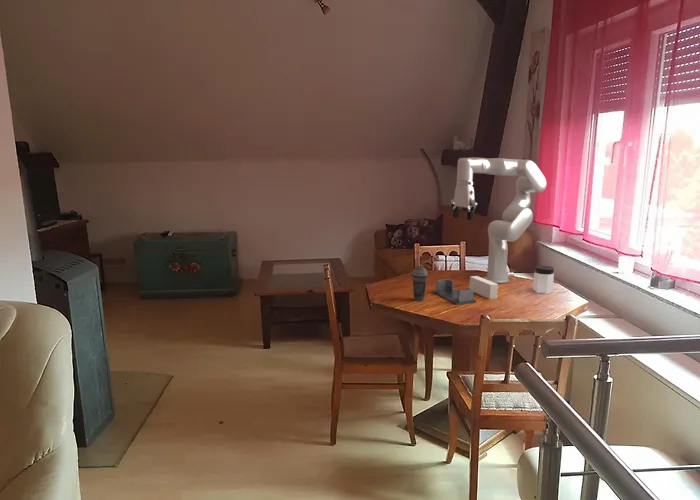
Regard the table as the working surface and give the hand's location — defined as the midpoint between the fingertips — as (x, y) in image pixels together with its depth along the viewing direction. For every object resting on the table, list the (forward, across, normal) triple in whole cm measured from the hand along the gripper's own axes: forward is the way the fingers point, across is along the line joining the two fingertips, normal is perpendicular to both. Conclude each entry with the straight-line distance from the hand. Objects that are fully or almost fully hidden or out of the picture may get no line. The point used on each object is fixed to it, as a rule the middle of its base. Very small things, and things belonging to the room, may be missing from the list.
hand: (462, 218), depth 259 cm
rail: (+34, -17, +1) cm, 38 cm away
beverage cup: (+35, -9, +33) cm, 49 cm away
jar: (+34, -29, -28) cm, 52 cm away
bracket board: (+34, -14, +17) cm, 41 cm away
